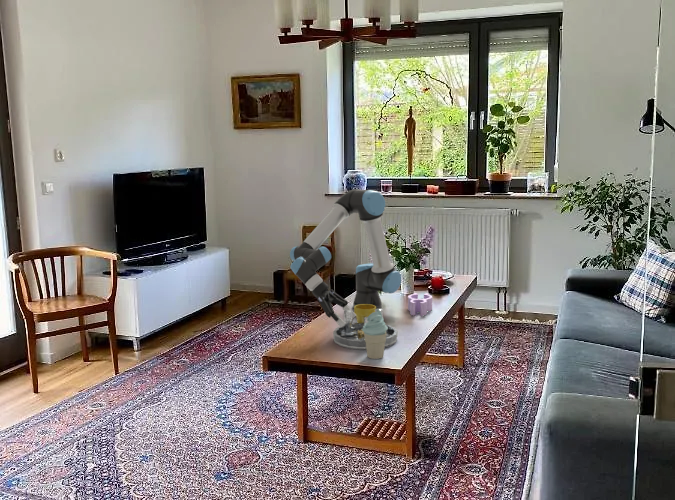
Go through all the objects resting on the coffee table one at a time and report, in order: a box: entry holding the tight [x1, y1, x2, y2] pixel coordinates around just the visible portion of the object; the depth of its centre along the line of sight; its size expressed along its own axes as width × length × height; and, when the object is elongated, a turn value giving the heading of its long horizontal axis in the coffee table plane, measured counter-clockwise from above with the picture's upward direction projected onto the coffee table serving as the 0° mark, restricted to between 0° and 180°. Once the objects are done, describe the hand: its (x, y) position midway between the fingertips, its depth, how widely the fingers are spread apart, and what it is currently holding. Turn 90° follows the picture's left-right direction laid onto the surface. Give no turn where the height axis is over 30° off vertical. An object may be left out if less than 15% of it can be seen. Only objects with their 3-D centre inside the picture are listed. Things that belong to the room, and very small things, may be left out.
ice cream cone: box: [362, 309, 388, 360], centre depth 273 cm, size 10×11×20 cm
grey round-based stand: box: [341, 309, 356, 337], centre depth 299 cm, size 7×7×11 cm
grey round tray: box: [332, 308, 398, 351], centre depth 296 cm, size 28×28×12 cm
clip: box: [407, 292, 433, 317], centre depth 342 cm, size 20×12×7 cm, turn 168°
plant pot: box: [353, 304, 376, 323], centre depth 316 cm, size 10×10×10 cm
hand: (349, 321), depth 299 cm, fingers open, 13 cm apart
